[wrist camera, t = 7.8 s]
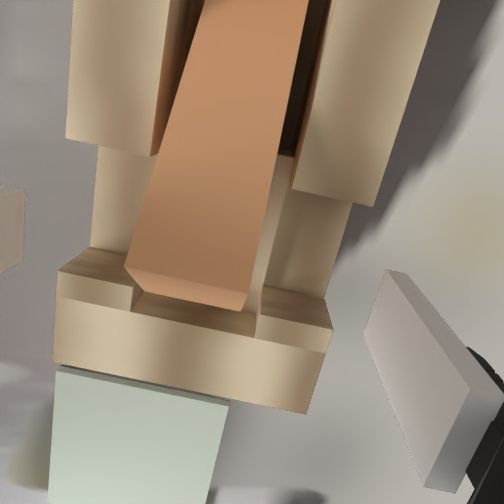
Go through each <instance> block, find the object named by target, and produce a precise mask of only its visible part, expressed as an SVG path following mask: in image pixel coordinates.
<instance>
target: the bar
mask: <svg viewBox="0 0 504 504" xmlns="http://www.w3.org/2000/svg"><path fill="white" fill-rule="evenodd" d="M308 1H309V0H205V2H204V6H203V9H202V12H201V15H200V19H199V22H198V25H197V28H196V32H195V35H194V38H193V42H192V45H191V48H190V51H189V55H188V58H187V61H186V64H185V68H184V71H183V74H182V78H181V81H180V84H179V87H178V91H177V94H176V97H175V100H174V104H173V107H172V110H171V113H170V117H169V120H168V123H167V127H166V130H165V133H164V136H163V140H162V143H161V146H160V149H159V153H158V156H157V159H156V163H155V166H154V169H153V172H152V176H151V179H150V182H149V185H148V189H147V192H146V195H145V199H144V202H143V205H142V208H141V212H140V215H139V218H138V221H137V225H136V228H135V231H134V235H133V238H132V241H131V244H130V248H129V251H128V254H127V257H126V261H125V264H124V268H125V269H126V270H127V271H128V273H129V274H130V275H131V276H132V277H133V278H134V280H135V281H136V282H137V283H138V284H139V285H140V287H141V288H142V289H143V290H144V291H146V292H150V293H155V294H160V295H164V296H169V297H174V298H178V299H183V300H188V301H192V302H197V303H202V304H206V305H211V306H216V307H220V308H225V309H230V310H234V311H239V312H241V309H242V307H243V305H244V303H245V300H246V298H247V296H248V294H249V289H250V284H251V279H252V274H253V269H254V264H255V259H256V255H257V250H258V245H259V240H260V235H261V230H262V225H263V220H264V216H265V211H266V206H267V201H268V196H269V191H270V186H271V181H272V177H273V172H274V167H275V162H276V157H277V152H278V147H279V142H280V138H281V133H282V128H283V123H284V118H285V113H286V108H287V103H288V99H289V94H290V89H291V84H292V79H293V74H294V69H295V64H296V60H297V55H298V50H299V45H300V40H301V35H302V30H303V25H304V21H305V16H306V11H307V6H308Z"/></svg>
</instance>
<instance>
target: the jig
mask: <svg viewBox="0 0 504 504" xmlns="http://www.w3.org/2000/svg"><path fill="white" fill-rule="evenodd" d="M204 2H205V0H74V1H73V18H72V34H71V51H70V68H69V85H68V102H67V119H66V136H65V138H67V139H71V140H76V141H80V142H85V143H89V144H94V145H98V157H97V169H96V180H95V192H94V204H93V215H92V227H91V238H90V247H89V248H88V249H86V250H85V251H84V252H82V253H81V254H80V255H78V256H77V257H76V258H74V259H73V260H72V261H70V262H69V263H68V264H66V265H65V266H64V267H62V268H61V269H60V270H58V272H57V289H56V306H55V323H54V340H53V357H52V362H55V363H60V364H65V365H70V366H75V367H79V368H84V369H89V370H94V371H99V372H103V373H108V374H113V375H118V376H123V377H128V378H133V379H138V380H142V381H147V382H152V383H157V384H161V385H166V386H171V387H176V388H181V389H185V390H191V391H195V392H200V393H205V394H210V395H214V396H219V397H224V398H229V399H234V400H238V401H243V402H248V403H253V404H258V405H263V406H268V407H272V408H278V409H282V410H287V411H292V412H297V413H301V414H306V413H307V410H308V407H309V404H310V401H311V397H312V395H313V391H314V388H315V385H316V382H317V379H318V376H319V373H320V370H321V367H322V364H323V361H324V358H325V354H326V351H327V348H328V345H329V342H330V339H331V336H332V332H333V327H332V324H331V320H330V317H329V313H328V310H327V306H326V303H325V299H324V296H325V293H326V289H327V286H328V283H329V279H330V276H331V273H332V270H333V267H334V263H335V260H336V257H337V253H338V250H339V247H340V244H341V240H342V237H343V234H344V231H345V227H346V224H347V221H348V217H349V214H350V211H351V208H352V204H353V203H357V204H361V205H366V206H370V207H373V206H374V203H375V200H376V197H377V194H378V191H379V188H380V185H381V182H382V178H383V175H384V172H385V169H386V166H387V163H388V160H389V157H390V154H391V151H392V148H393V145H394V141H395V138H396V135H397V132H398V129H399V126H400V123H401V120H402V117H403V114H404V111H405V107H406V104H407V101H408V98H409V95H410V92H411V89H412V86H413V83H414V80H415V77H416V73H417V70H418V67H419V64H420V61H421V58H422V55H423V52H424V49H425V46H426V43H427V40H428V36H429V33H430V30H431V27H432V24H433V21H434V18H435V15H436V12H437V9H438V6H439V2H440V0H309V1H308V6H307V11H306V16H305V21H304V25H303V30H302V35H301V40H300V45H299V50H298V55H297V60H296V64H295V69H294V74H293V79H292V84H291V89H290V94H289V99H288V103H287V108H286V113H285V118H284V123H283V128H282V133H281V138H280V142H279V147H278V152H277V157H276V162H275V167H274V172H273V177H272V181H271V186H270V191H269V196H268V201H267V206H266V211H265V216H264V220H263V225H262V230H261V235H260V240H259V245H258V250H257V255H256V259H255V264H254V269H253V274H252V279H251V284H250V289H249V294H248V296H247V298H246V300H245V303H244V305H243V307H242V309H241V312H239V311H234V310H230V309H225V308H220V307H216V306H211V305H206V304H202V303H197V302H192V301H188V300H183V299H178V298H174V297H169V296H164V295H160V294H155V293H150V292H146V291H144V290H143V289H142V288H141V287H140V285H139V284H138V283H137V282H136V281H135V280H134V278H133V277H132V276H131V275H130V274H129V273H128V271H127V270H126V269H125V268H124V264H125V261H126V257H127V254H128V251H129V248H130V244H131V241H132V238H133V235H134V231H135V228H136V225H137V221H138V218H139V215H140V212H141V208H142V205H143V202H144V199H145V195H146V192H147V189H148V185H149V182H150V179H151V176H152V172H153V169H154V166H155V163H156V159H157V156H158V153H159V149H160V146H161V143H162V140H163V136H164V133H165V130H166V127H167V123H168V120H169V117H170V113H171V110H172V107H173V104H174V100H175V97H176V94H177V91H178V87H179V84H180V81H181V78H182V74H183V71H184V68H185V64H186V61H187V58H188V55H189V51H190V48H191V45H192V42H193V38H194V35H195V32H196V28H197V25H198V22H199V19H200V15H201V12H202V9H203V6H204Z"/></svg>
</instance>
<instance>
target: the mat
mask: <svg viewBox="0 0 504 504" xmlns="http://www.w3.org/2000/svg"><path fill="white" fill-rule="evenodd" d="M229 403H230V401H228V400H224V399H218V398H214V397H209V396H204V395H199V394H195V393H190V392H185V391H180V390H175V389H171V388H166V387H161V386H156V385H151V384H146V383H142V382H137V381H132V380H127V379H122V378H117V377H113V376H108V375H103V374H98V373H93V372H88V371H84V370H79V369H74V368H69V367H64V366H60V367H59V368H58V369H57V370H56V378H55V394H54V410H53V426H52V442H51V457H50V459H51V460H50V473H49V489H48V504H205V503H206V499H207V495H208V491H209V487H210V483H211V479H212V474H213V470H214V466H215V462H216V458H217V454H218V450H219V445H220V442H221V437H222V433H223V429H224V424H225V421H226V417H227V413H228V409H229Z"/></svg>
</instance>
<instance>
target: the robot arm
mask: <svg viewBox="0 0 504 504" xmlns="http://www.w3.org/2000/svg"><path fill="white" fill-rule="evenodd" d="M24 217H25V189H22V188H18V187H13V186H9V185H4V184H3V185H0V274H2V273H3V272H5V271H7V270H8V269H10V268H12V267H13V266H15V265H17V264H18V263H20V262H22V261H23V256H24ZM363 336H364V339H365V341H366V344H367V346H368V349H369V352H370V354H371V357H372V359H373V362H374V364H375V367H376V369H377V372H378V374H379V377H380V379H381V382H382V384H383V387H384V389H385V392H386V395H387V397H388V400H389V402H390V404H391V407H392V410H393V412H394V415H395V417H396V419H397V422H398V425H399V427H400V430H401V432H402V435H403V438H404V440H405V443H406V445H407V448H408V450H409V453H410V455H411V458H412V460H413V463H414V465H415V468H416V470H417V473H418V475H419V478H420V480H421V483H422V486H423V487H427V488H432V489H437V490H441V491H446V492H451V493H456V491H457V489H458V488H459V486H460V484H461V482H462V480H463V478H464V476H465V474H466V473H467V475H468V477H469V479H470V481H471V483H472V485H473V487H474V489H475V490H474V492H473V493H472V495H471V497H470V499H469V501H468V502H467V504H504V383H503V380H502V379H501V378H500V376H499V375H498V374H496V373H495V371H494V369H493V368H492V367H491V366H490V365H489V364H488V362H487V361H486V360H485V359H484V358H483V357H481V356H480V355H478V354H477V353H476V352H475V351H473V350H472V349H470V348H469V347H465V345H464V344H463V343H462V342H461V341H460V339H459V338H458V337H457V336H456V334H455V333H454V332H453V331H452V329H451V328H450V327H449V326H448V325H447V323H446V322H445V321H444V320H443V318H442V317H441V316H440V315H439V313H438V312H437V311H436V310H435V308H434V307H433V306H432V305H431V303H430V302H429V301H428V300H427V298H426V297H425V296H424V295H423V294H422V292H421V291H420V290H419V289H418V288H417V286H416V285H415V284H414V282H413V281H412V280H411V279H410V278H409V276H408V275H407V274H404V273H400V272H396V271H391V270H387V269H386V271H385V273H384V277H383V279H382V282H381V285H380V288H379V290H378V293H377V296H376V299H375V302H374V304H373V307H372V310H371V313H370V316H369V319H368V321H367V324H366V327H365V330H364V333H363Z"/></svg>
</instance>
